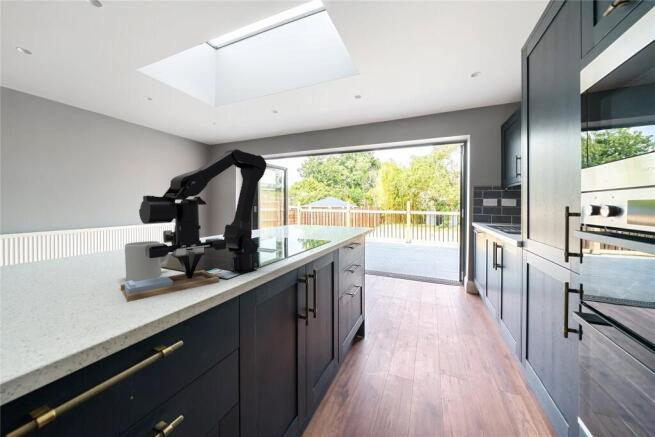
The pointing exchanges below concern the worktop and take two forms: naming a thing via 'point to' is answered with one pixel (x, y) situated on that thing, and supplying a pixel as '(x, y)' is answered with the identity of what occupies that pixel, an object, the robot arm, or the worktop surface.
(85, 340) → the worktop surface
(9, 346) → the worktop surface
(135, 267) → the mug
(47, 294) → the worktop surface
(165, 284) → the blue mattress with pillow
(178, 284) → the brown flat wooden tray
